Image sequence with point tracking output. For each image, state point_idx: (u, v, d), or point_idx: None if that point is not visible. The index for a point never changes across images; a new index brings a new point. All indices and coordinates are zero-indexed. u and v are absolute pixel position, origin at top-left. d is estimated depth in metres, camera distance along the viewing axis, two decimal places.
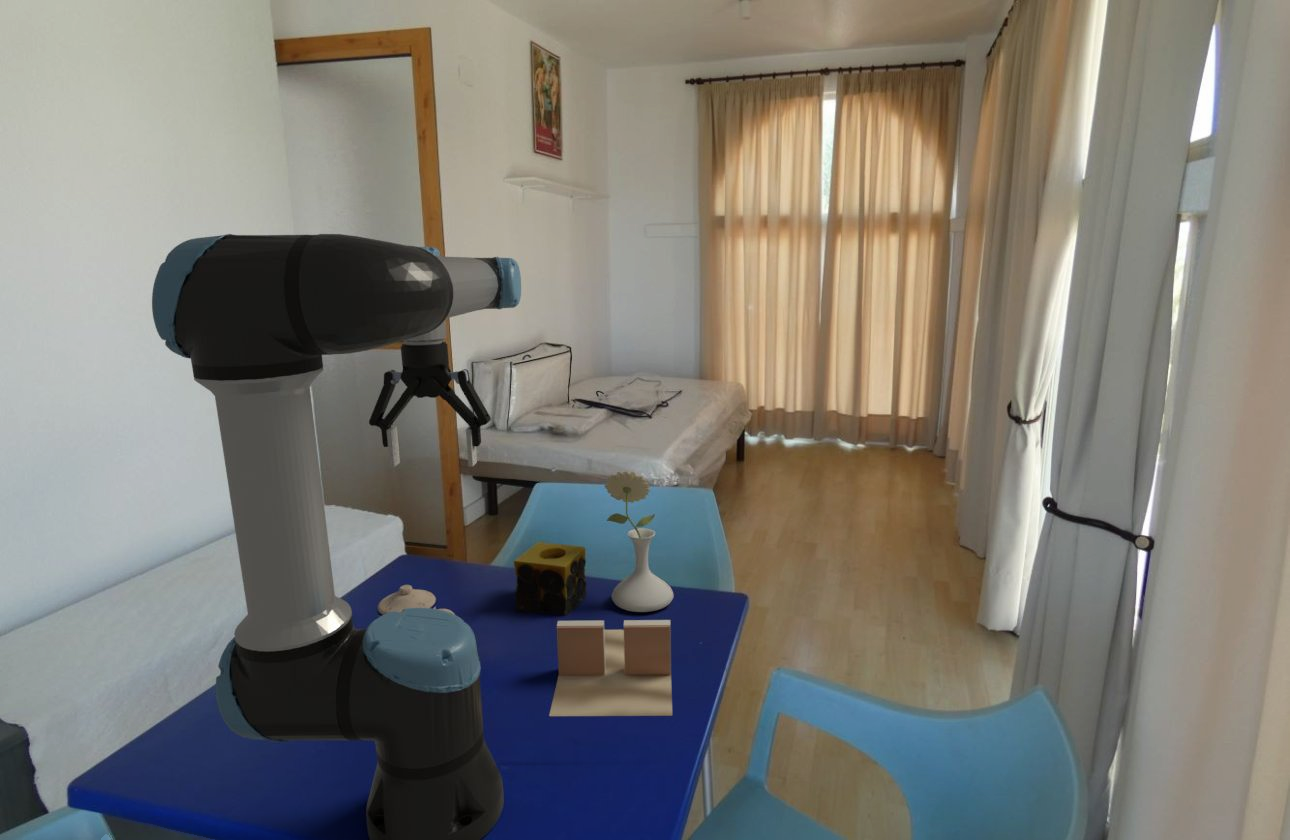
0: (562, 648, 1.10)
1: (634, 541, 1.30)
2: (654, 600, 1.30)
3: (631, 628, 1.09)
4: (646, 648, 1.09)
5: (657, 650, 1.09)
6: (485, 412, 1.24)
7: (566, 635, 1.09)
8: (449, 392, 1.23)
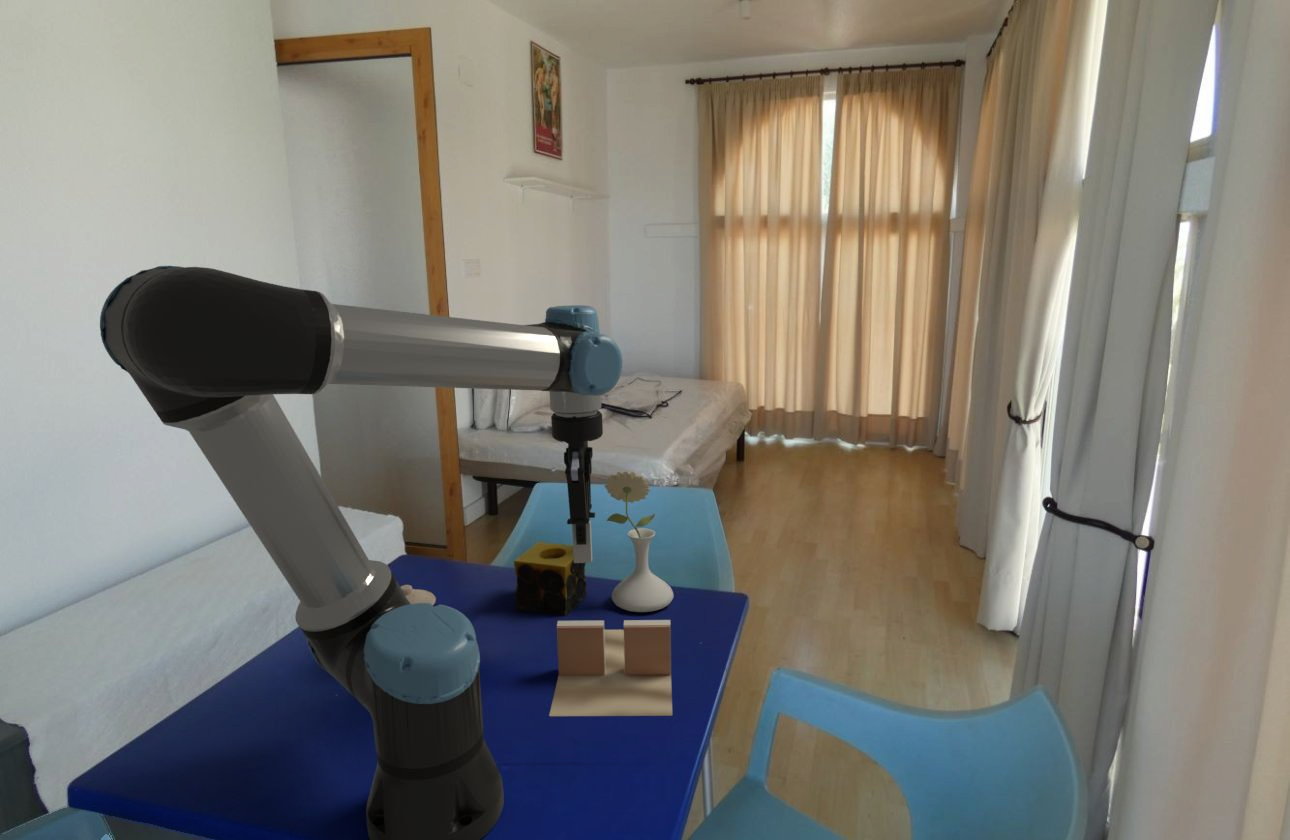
0: (562, 648, 1.10)
1: (634, 541, 1.30)
2: (654, 600, 1.30)
3: (631, 628, 1.09)
4: (646, 648, 1.09)
5: (657, 650, 1.09)
6: (579, 516, 1.07)
7: (566, 635, 1.09)
8: None
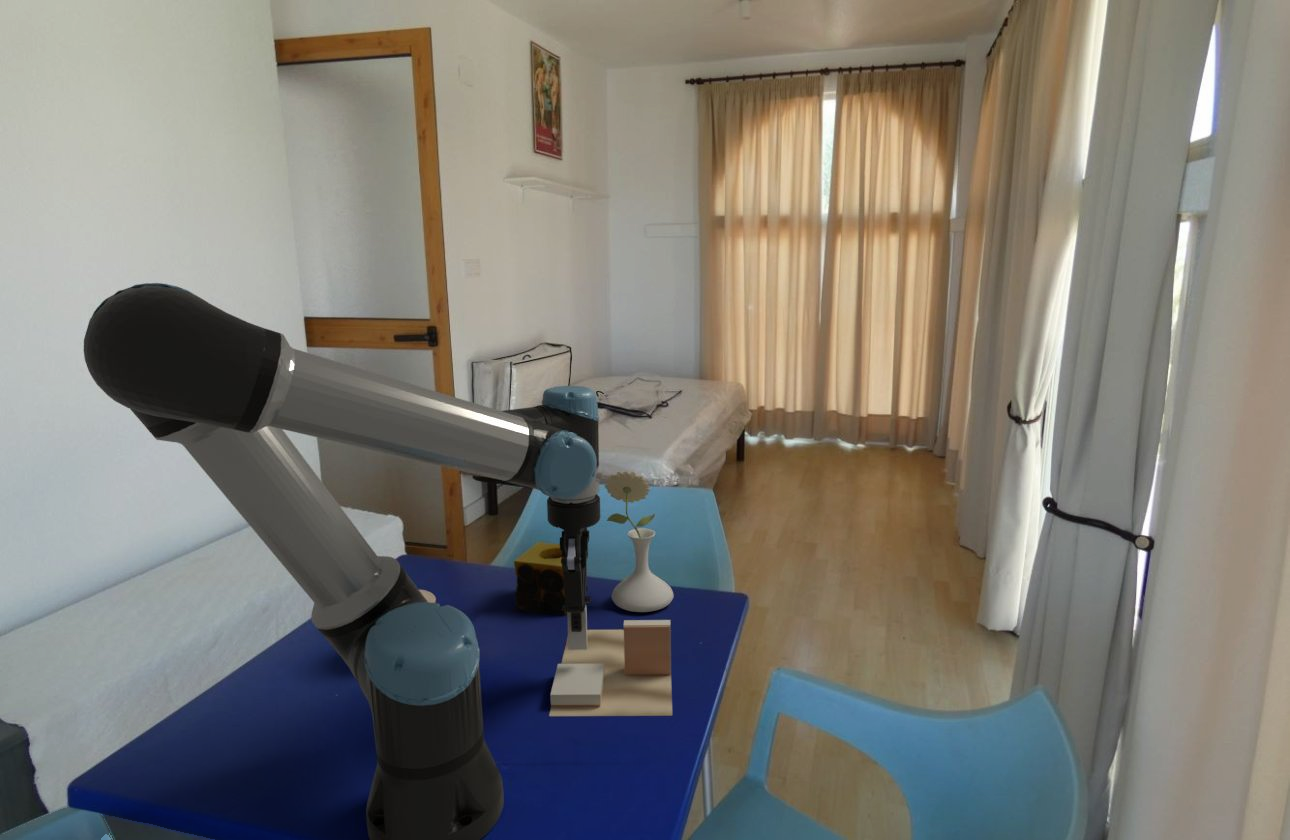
0: None
1: (634, 541, 1.30)
2: (654, 600, 1.30)
3: (631, 628, 1.09)
4: (646, 648, 1.09)
5: (657, 650, 1.09)
6: (574, 604, 1.03)
7: None
8: None
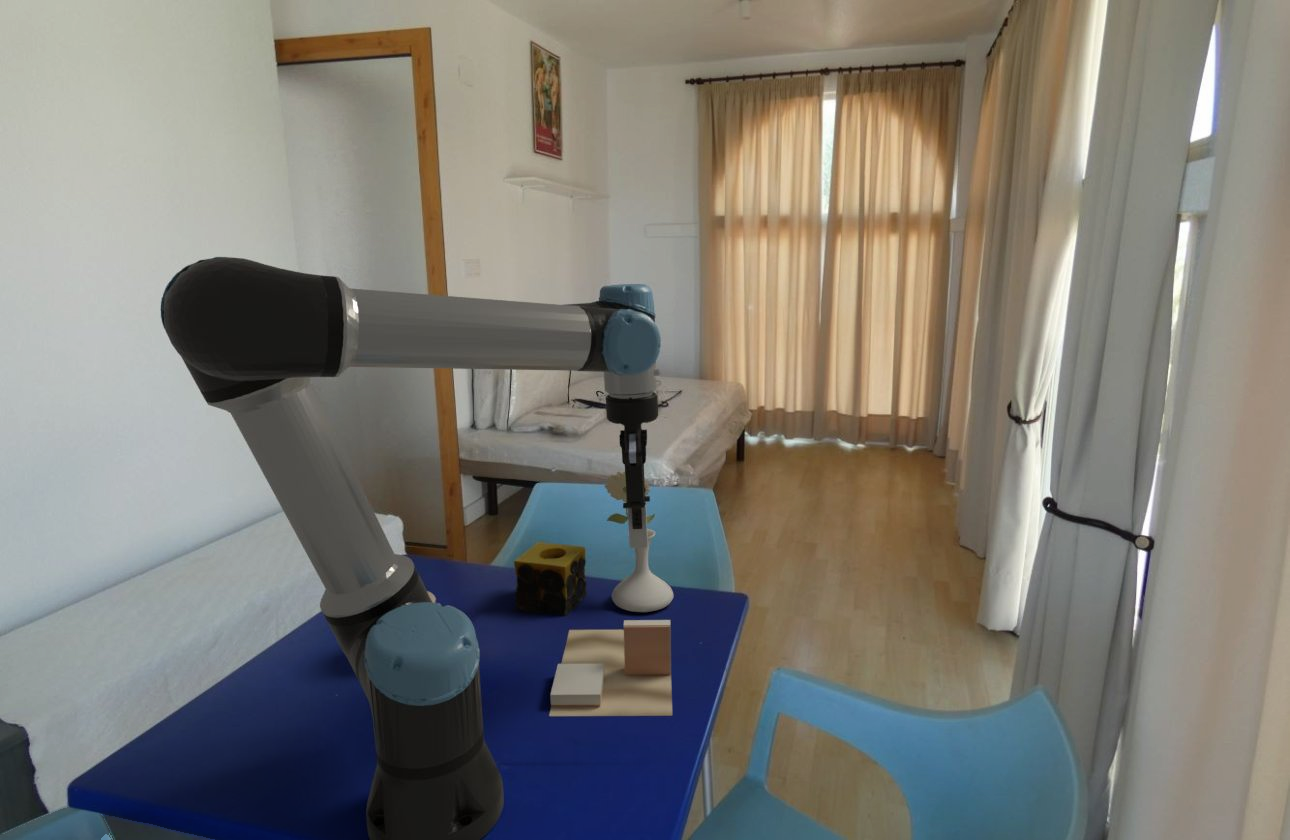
0: None
1: None
2: (654, 600, 1.30)
3: (631, 628, 1.09)
4: (646, 648, 1.09)
5: (657, 650, 1.09)
6: (636, 499, 1.05)
7: None
8: None
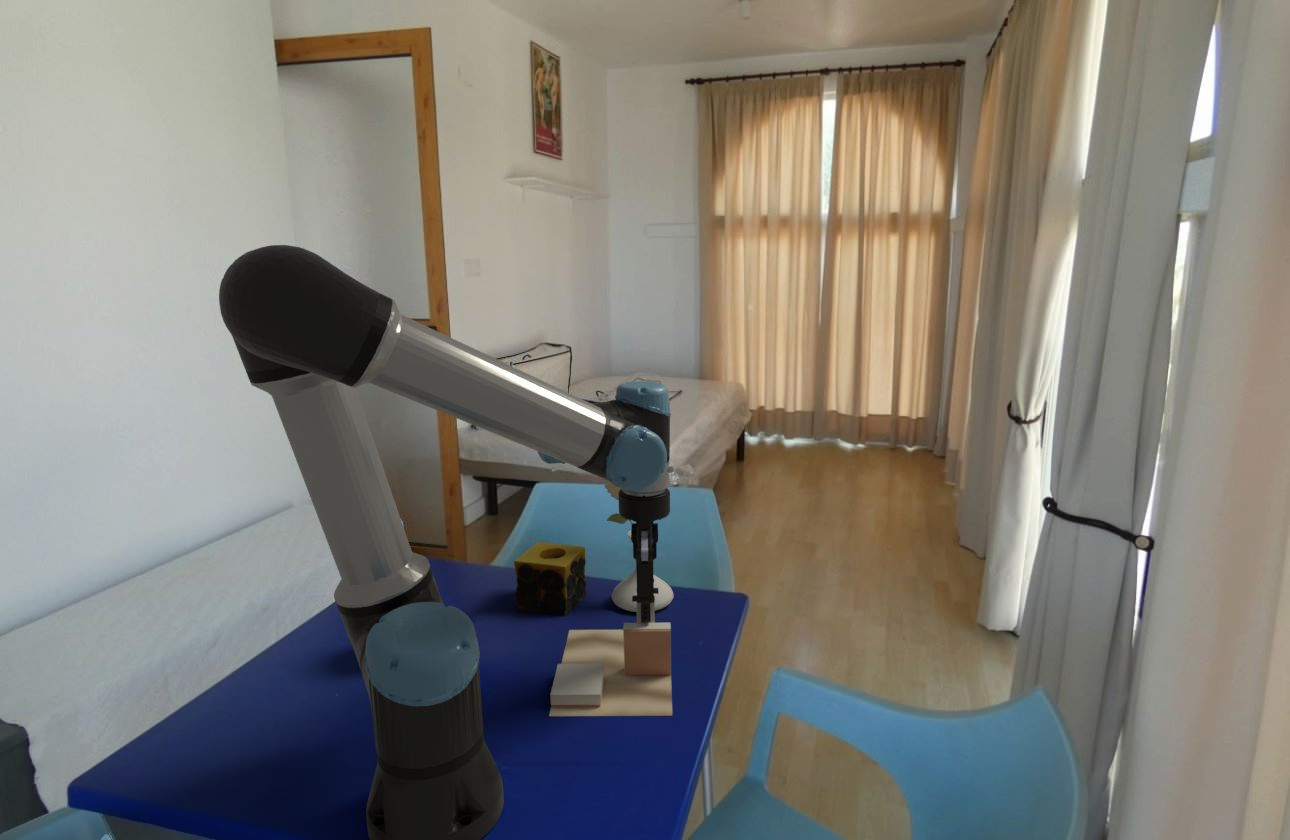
0: None
1: None
2: None
3: (631, 632, 1.08)
4: (646, 651, 1.09)
5: (657, 652, 1.09)
6: (646, 595, 1.06)
7: None
8: None
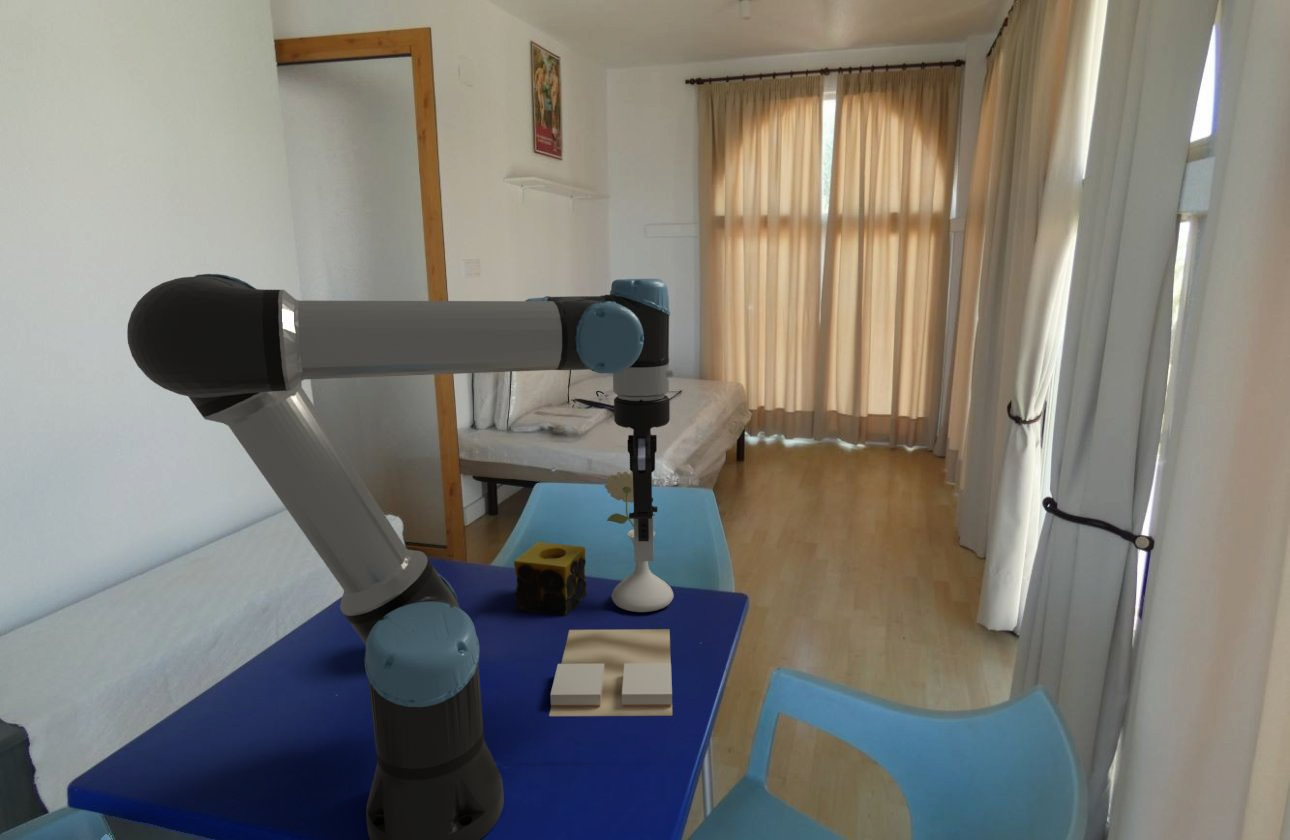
0: None
1: None
2: (654, 600, 1.30)
3: None
4: None
5: None
6: (643, 509, 0.98)
7: None
8: None
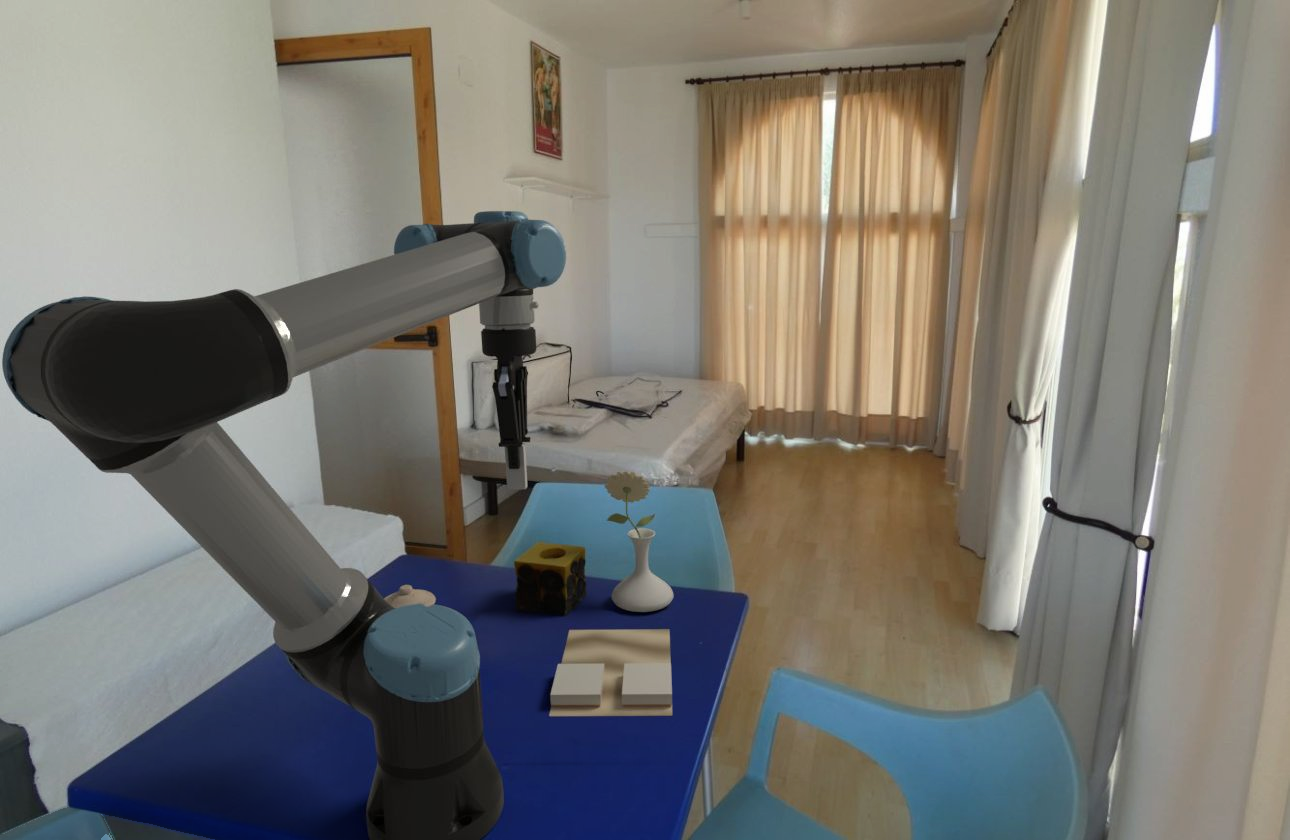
0: None
1: (634, 541, 1.30)
2: (654, 600, 1.30)
3: None
4: None
5: None
6: (509, 436, 1.02)
7: None
8: None
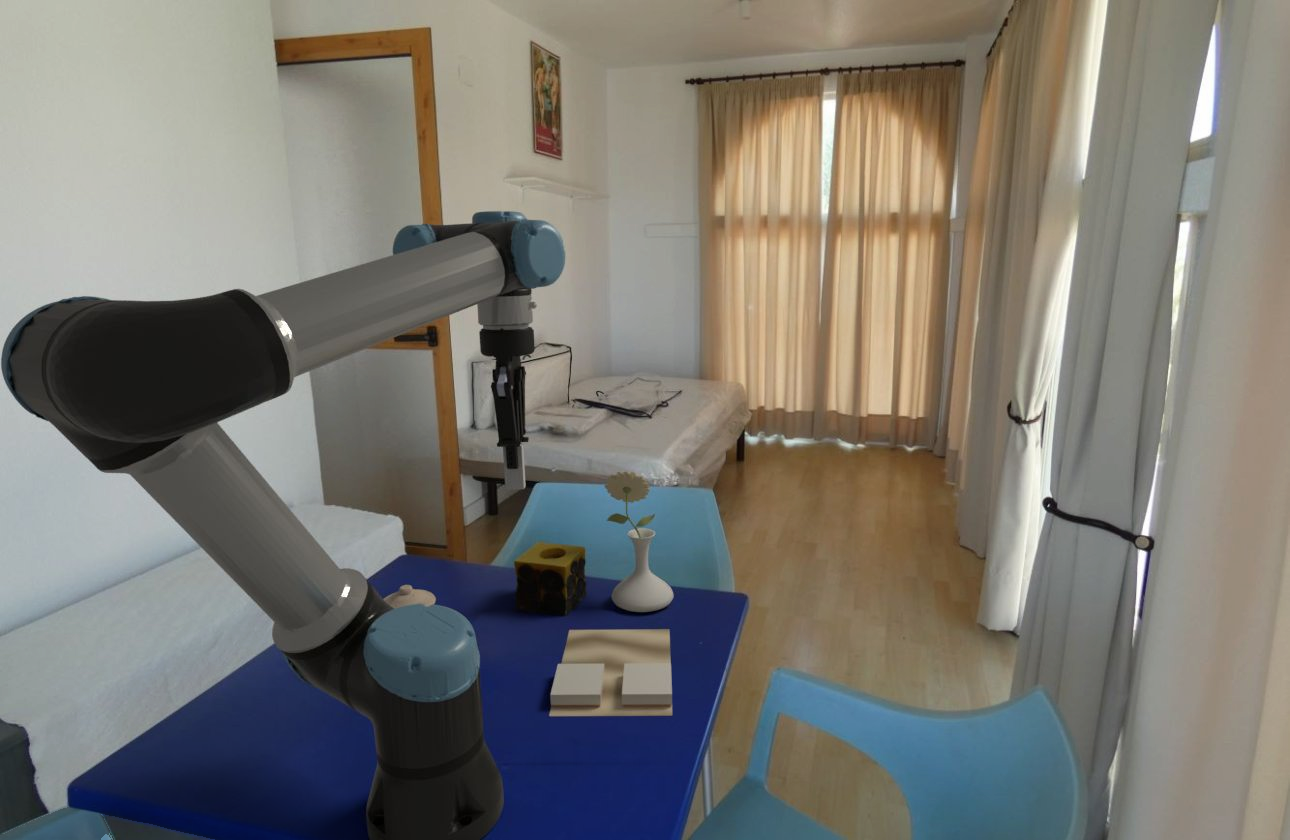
0: None
1: (634, 541, 1.30)
2: (654, 600, 1.30)
3: None
4: None
5: None
6: (507, 436, 1.02)
7: None
8: None
